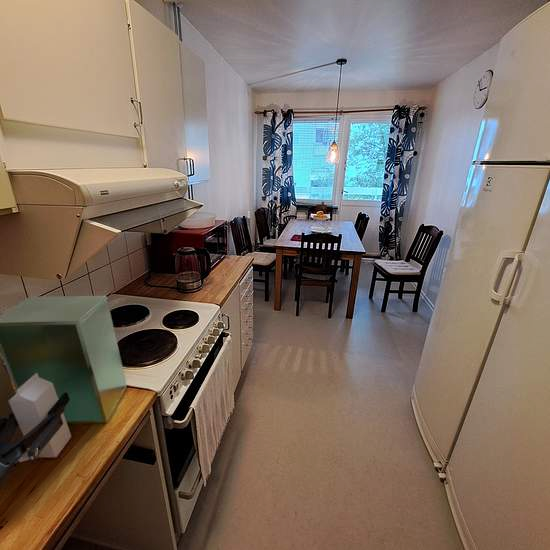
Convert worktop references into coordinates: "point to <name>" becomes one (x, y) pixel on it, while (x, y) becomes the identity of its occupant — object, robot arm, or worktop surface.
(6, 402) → the fridge door
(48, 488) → the worktop surface
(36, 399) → the milk
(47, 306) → the fridge
